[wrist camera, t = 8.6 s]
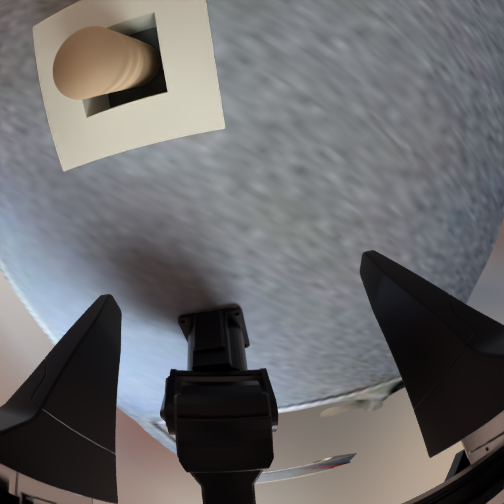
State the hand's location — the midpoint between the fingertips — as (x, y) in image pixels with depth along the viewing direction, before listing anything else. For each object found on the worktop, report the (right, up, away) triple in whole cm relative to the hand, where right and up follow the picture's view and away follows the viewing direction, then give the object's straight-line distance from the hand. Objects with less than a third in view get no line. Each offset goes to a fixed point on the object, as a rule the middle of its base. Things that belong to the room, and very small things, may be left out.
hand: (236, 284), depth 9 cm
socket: (-7, +13, +4) cm, 15 cm away
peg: (-7, +13, +4) cm, 15 cm away
